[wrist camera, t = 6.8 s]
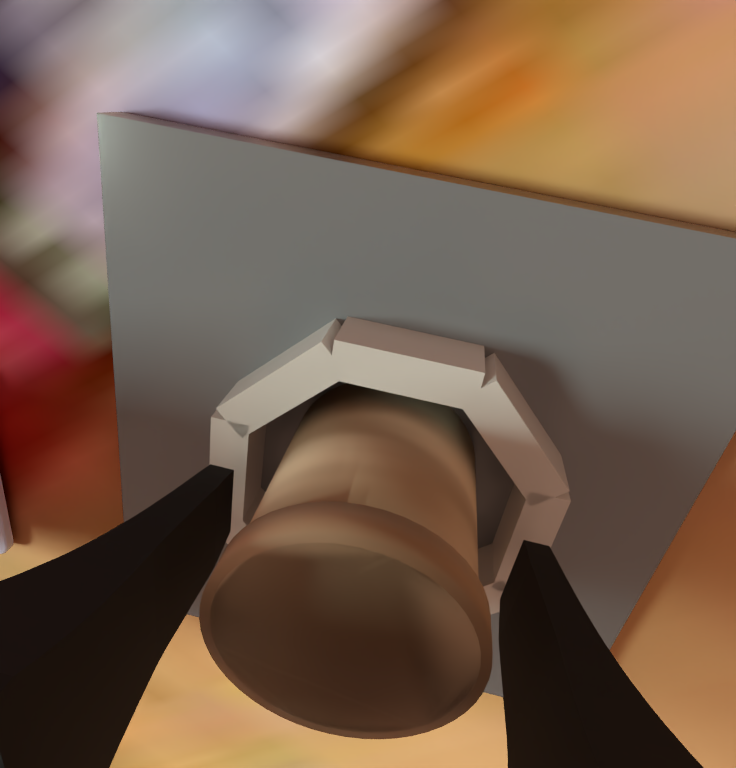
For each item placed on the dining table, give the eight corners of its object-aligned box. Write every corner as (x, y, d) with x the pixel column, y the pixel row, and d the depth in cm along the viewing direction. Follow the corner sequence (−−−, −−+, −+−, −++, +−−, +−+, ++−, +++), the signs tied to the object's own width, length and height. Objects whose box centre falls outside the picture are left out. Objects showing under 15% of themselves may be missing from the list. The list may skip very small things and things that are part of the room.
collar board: (143, 577, 21) (104, 633, 19) (121, 111, 13) (52, 114, 11) (567, 687, 20) (578, 761, 18) (809, 246, 12) (882, 279, 10)
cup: (284, 515, 17) (202, 704, 12) (293, 355, 14) (194, 505, 9) (461, 550, 16) (459, 763, 11) (503, 391, 14) (526, 571, 9)
